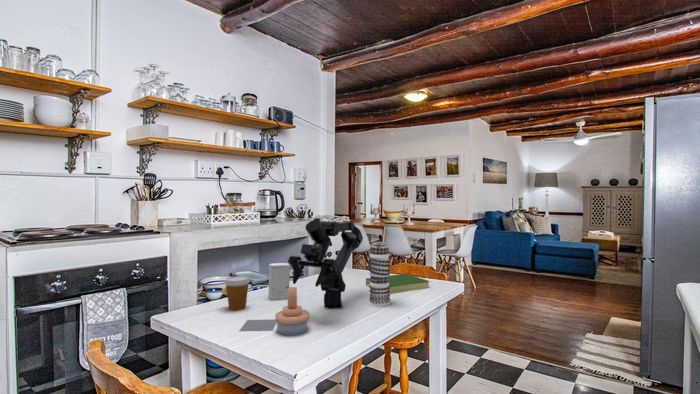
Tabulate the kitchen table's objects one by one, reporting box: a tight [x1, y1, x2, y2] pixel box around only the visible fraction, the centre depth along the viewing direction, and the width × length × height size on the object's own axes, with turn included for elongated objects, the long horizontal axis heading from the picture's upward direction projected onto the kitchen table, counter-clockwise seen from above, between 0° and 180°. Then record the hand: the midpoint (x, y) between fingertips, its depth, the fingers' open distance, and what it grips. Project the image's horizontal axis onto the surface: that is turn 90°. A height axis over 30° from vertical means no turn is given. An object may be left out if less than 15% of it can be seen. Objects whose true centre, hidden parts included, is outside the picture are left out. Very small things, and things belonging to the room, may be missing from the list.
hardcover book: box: [365, 273, 430, 294], centre depth 183 cm, size 25×19×4 cm
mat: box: [239, 318, 277, 332], centre depth 130 cm, size 11×11×1 cm
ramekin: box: [276, 319, 309, 337], centre depth 125 cm, size 10×10×4 cm
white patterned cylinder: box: [367, 241, 392, 307], centre depth 155 cm, size 9×9×25 cm
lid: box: [275, 286, 310, 324], centre depth 125 cm, size 11×11×10 cm
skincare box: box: [268, 262, 291, 301], centre depth 165 cm, size 8×6×15 cm
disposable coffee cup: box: [224, 275, 251, 311], centre depth 149 cm, size 10×10×12 cm
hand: (304, 284), depth 132 cm, fingers open, 9 cm apart
